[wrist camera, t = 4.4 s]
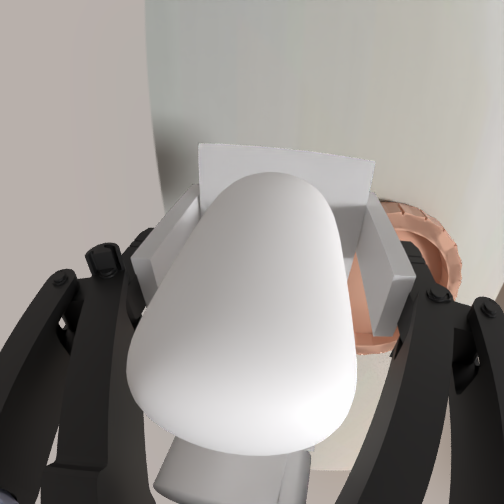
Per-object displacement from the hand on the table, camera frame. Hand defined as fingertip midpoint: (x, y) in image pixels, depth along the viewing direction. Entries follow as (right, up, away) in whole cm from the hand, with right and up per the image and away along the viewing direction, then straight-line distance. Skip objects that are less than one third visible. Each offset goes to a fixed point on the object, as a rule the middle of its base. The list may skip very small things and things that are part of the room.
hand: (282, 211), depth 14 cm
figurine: (0, +1, +2) cm, 2 cm away
